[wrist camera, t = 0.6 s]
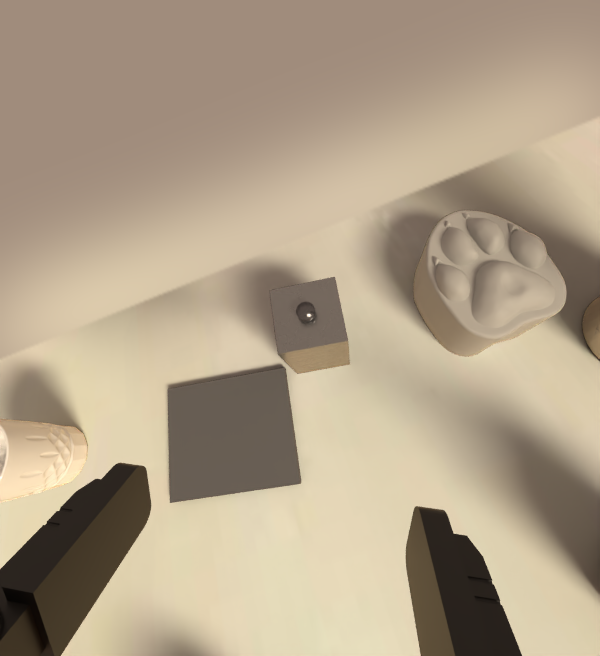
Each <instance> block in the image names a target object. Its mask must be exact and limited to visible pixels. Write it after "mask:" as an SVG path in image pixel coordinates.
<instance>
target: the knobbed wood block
mask: <svg viewBox="0 0 600 656" xmlns="http://www.w3.org/2000/svg"><path fill="white" fill-rule="evenodd" d="M270 298H271V306H272V313H273V321H274V328H275V336H276V343H277V351H278V355H279V356H280V357H281V358H282V359H283V360H284V361H285V362H286V363H287V364H288V365H289V366H290V367H291V368H292V369H293V370H294V371H295V372H296V373H297V374H299V373H305V372H310V371H316V370H321V369H327V368H332V367H338V366H343V365H349V364H350V360H349V346H348V338H347V333H346V328H345V323H344V319H343V314H342V309H341V304H340V299H339V295H338V290H337V285H336V280H335V277H331V278H327V279H322V280H317V281H312V282H308V283H303V284H298V285H293V286H289V287H284V288H279V289H274V290H270Z"/></svg>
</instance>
